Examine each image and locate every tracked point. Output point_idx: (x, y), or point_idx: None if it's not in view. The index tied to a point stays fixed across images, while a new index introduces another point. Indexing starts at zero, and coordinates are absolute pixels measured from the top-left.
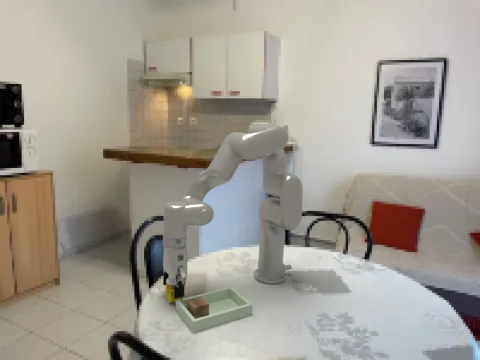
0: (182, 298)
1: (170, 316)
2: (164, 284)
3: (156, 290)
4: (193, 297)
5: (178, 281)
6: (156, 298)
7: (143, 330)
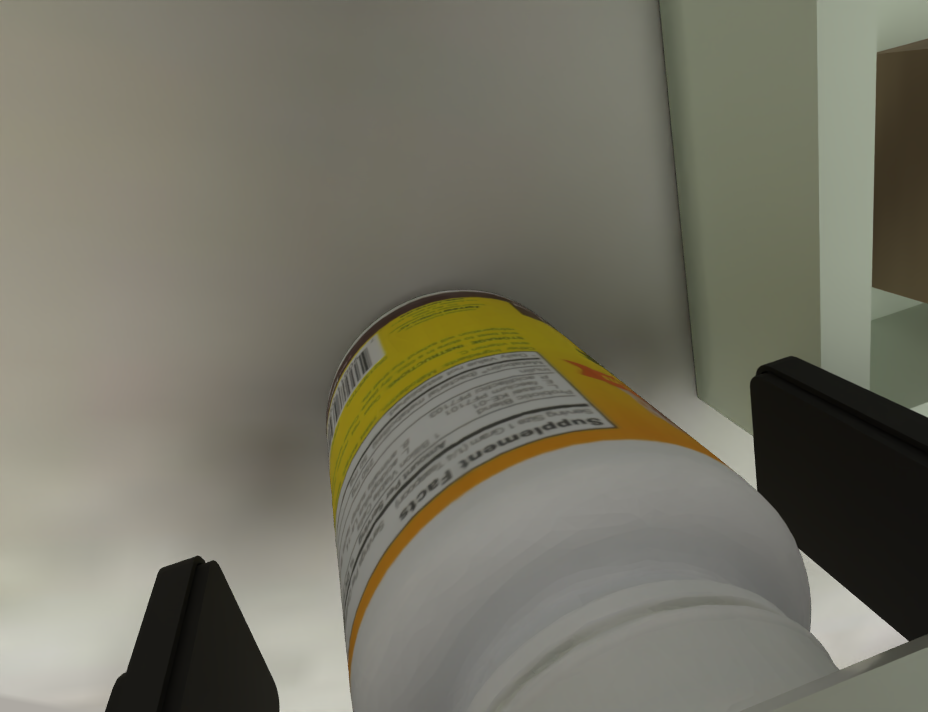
0: (529, 314)
1: (740, 452)
2: (275, 704)
3: (24, 644)
4: (867, 176)
5: (787, 610)
6: (287, 621)
7: (843, 660)
